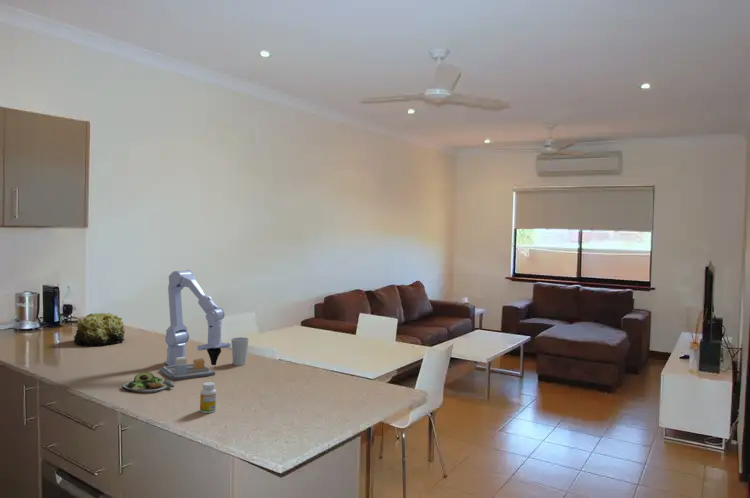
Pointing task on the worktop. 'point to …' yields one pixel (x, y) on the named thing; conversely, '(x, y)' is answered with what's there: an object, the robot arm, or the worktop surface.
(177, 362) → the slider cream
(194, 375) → the panel
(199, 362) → the slider orange
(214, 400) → the supplement bottle
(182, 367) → the slider blue
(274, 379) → the worktop surface
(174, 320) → the robot arm
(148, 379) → the salad plate
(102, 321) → the mossy green rock
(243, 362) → the cup
